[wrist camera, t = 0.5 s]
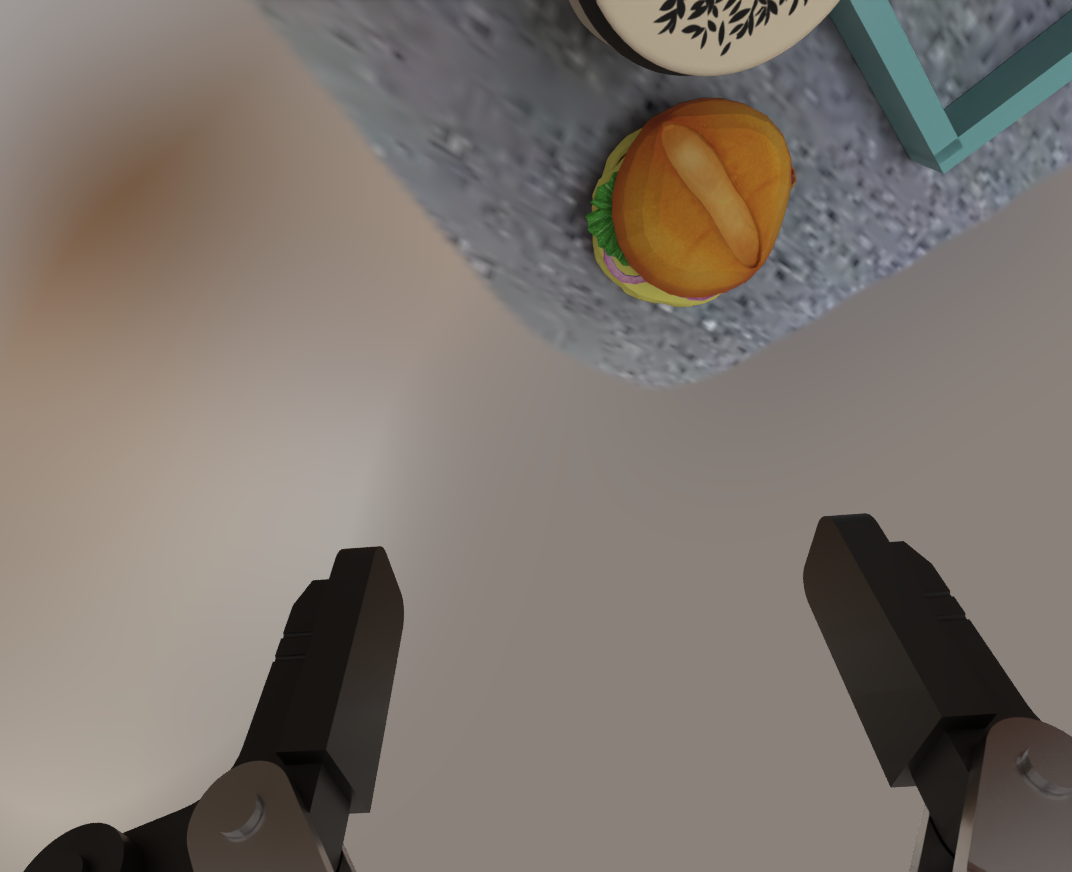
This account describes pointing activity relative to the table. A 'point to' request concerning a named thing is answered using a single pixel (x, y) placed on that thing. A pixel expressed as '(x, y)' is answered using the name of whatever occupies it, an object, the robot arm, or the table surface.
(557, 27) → the table surface
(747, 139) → the cheeseburger
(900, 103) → the teal u-shaped frame
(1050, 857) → the robot arm
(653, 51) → the travel mug
